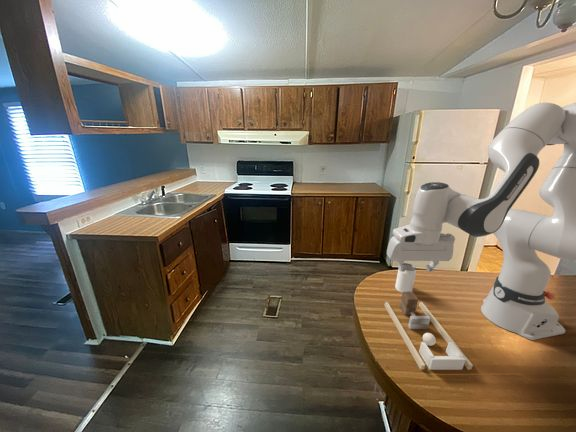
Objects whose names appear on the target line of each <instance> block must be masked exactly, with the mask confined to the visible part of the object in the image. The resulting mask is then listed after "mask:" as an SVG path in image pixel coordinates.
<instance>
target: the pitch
mask: <svg viewBox="0 0 576 432" xmlns="http://www.w3.org/2000/svg"><path fill="white" fill-rule="evenodd" d="M384 307H385V309H386V311H387V313H388V315H389V316H390V318H391V320H392V321H393V324H394V325H395V327H396V329H397V330H398V332H399V334H400V336H401V338H402V340H403V341H404V343H405V344H406V347H407V348H408V350H409V352H410V354H411V355H412V357H413V359H414V361H415V362H416V364H417V367H418V368H419V371H420V370H422V371H423V370H425V368H426V363H425V361H424V360H423V358H422V356H421V355H420V353H419V351H417V349H416V347H415V345H414V344H413V342H412V340H411V339H410V337H409V335H408V334H407V332H406V331H405V328H404V327H403V325H402V323H401V322H400V320H399V319H398V317H397V315H396V313H395V312H394V310H393V309H392V307H391V306H390V303H389V302H388V301H385V302H384ZM418 307H419V308H420V309H421V311H422V312H423V313H424V314H425V316H429V317H430V322H431V324H432V325H433V326H434V327H435V329H436V330H437V331H438V333H439V334H440V335H441V337H442V339H444V340H445V342H446V343H447V344H448V343H449V342H453V344H454V345H455V346H456V348H457V349H458V350H459V351H460V353H461V354H462V355H463V356H464V358H465V359H466V360H465V363H464V367H465V368H466V370H470V371H471V370H473V369H472V368H473V366H474V364H472V362H471V361H470V360H469V358H468V356H466V355H465V354H464V353H463V351H462V350H461V349H460V347H459V346H458V345H457V344H456V342H455V341H454V339H453V338H452V337H451V336H450V335H449V334H448V332H447V331H446V330H445V328H443V325H441V324H440V321H438V320H437V318H436V317H435V316H434V315H433V314H432V312H431V311H430V309H428V308H427V306H426V305H425V304H424V302H423V301H419V302H418Z"/></svg>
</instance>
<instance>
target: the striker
mask: <svg viewBox="0 0 576 432" xmlns="http://www.w3.org/2000/svg"><path fill="white" fill-rule="evenodd" d="M418 301H419V299H418V297H417V296H416V294H415V292H413V291H412V292H403V293H401V298H400V302H399V309H400V310H401V311H402V314H403V315H404V316H409V320H408V324H407V327H408V329H410V330H428V329H429V327H430V326H429V325H430V322H431V321H430V317H429V316H426V315H416V312H417V311H416V309H417V305H418V303H419V302H418Z"/></svg>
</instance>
